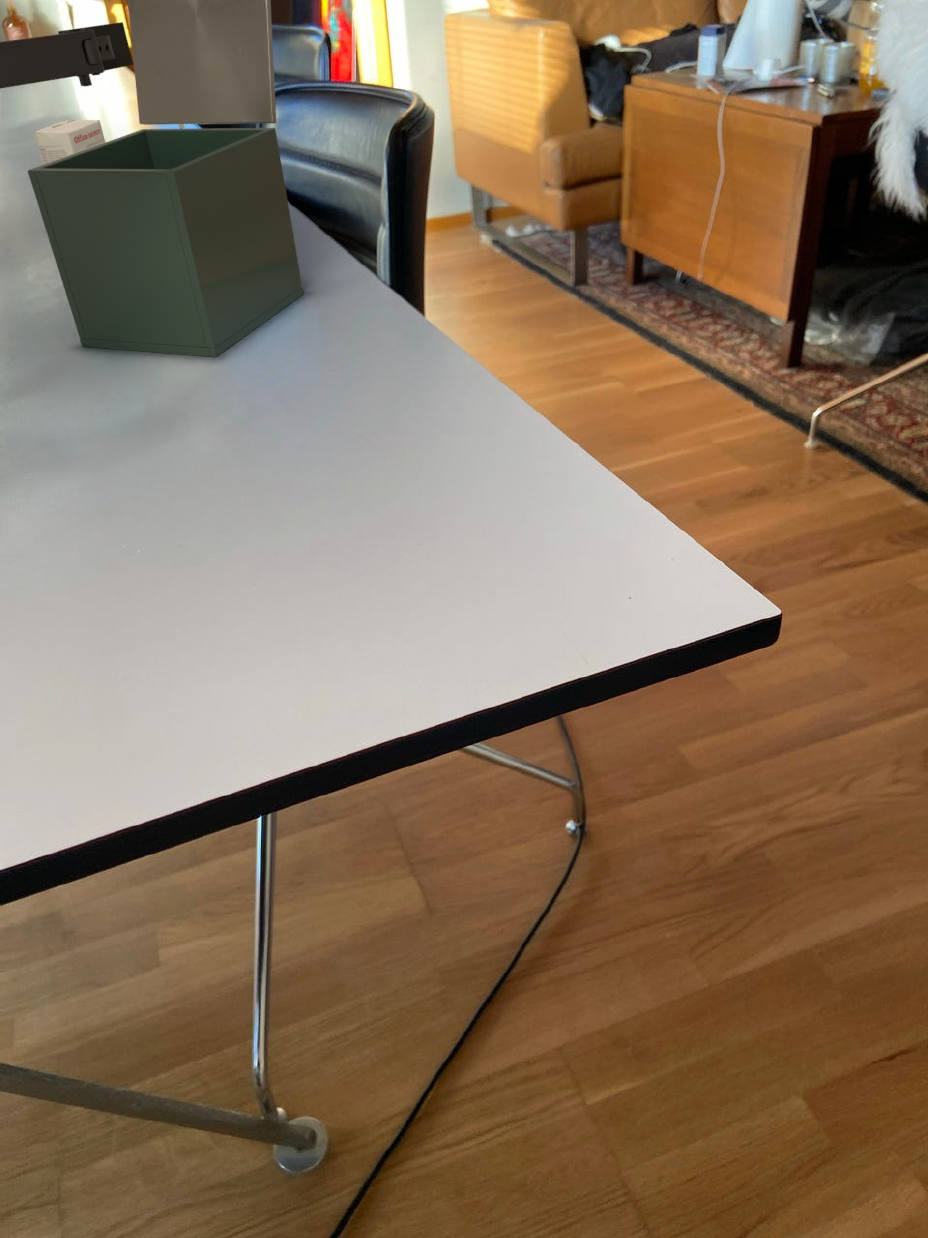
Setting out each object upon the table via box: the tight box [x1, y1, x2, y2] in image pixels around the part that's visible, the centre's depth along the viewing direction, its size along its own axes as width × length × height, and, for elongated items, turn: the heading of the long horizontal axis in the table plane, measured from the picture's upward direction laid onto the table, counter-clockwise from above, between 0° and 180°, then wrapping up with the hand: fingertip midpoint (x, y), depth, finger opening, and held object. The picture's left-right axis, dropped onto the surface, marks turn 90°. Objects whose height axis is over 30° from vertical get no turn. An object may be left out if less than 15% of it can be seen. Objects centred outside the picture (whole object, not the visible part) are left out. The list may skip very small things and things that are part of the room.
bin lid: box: [127, 0, 277, 126], centre depth 89 cm, size 18×15×1 cm
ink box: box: [33, 119, 106, 165], centre depth 125 cm, size 9×5×12 cm, turn 170°
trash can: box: [27, 127, 304, 358], centre depth 91 cm, size 17×15×15 cm
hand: (48, 52), depth 74 cm, fingers open, 13 cm apart
